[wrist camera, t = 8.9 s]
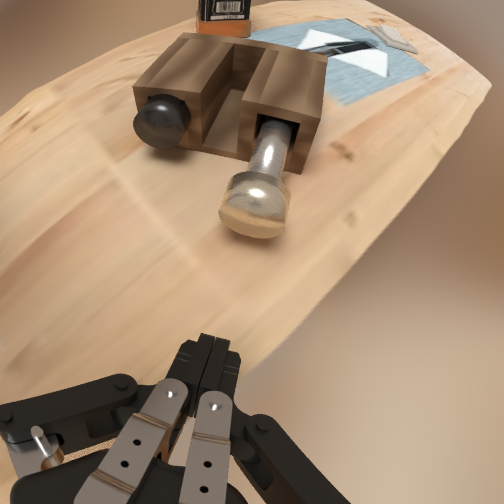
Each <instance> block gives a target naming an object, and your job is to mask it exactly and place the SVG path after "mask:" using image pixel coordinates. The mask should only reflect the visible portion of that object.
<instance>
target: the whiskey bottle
mask: <svg viewBox="0 0 504 504" xmlns="http://www.w3.org/2000/svg"><path fill="white" fill-rule="evenodd" d="M250 3H251V0H199V7H198V11H197V14H196V28H197V33H199V34H211V35H220V36H229V37H236V38H247V37H249V36H250V26H251V21H250V19H249V14H250Z"/></svg>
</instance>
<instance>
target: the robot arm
mask: <svg viewBox="0 0 504 504" xmlns="http://www.w3.org/2000/svg"><path fill="white" fill-rule="evenodd" d="M229 345H230V340H226V339H222V338H219V337H216V340H215V336H211V335H207V334H204V333H201V334H200V337H199V339H198V341H197V342H195V341H192V340H187V341H186V342H184V343H183V344H182V345H181V347H180V349H179V351H178V353H177V355H176V357H175V359H174V361H173V363H172V365H171V367H170V369H169V371H168V373H167V375H166V377H165V379H163V380H161V381H159V382H158V383H157V384H156V385H137V382H136V381H135V379H134V378H132V377H131V376H129V375H126V374H114V375H111V376H108V377H105V378H101V379H98V380H95V381H91V382H88V383H85V384H81V385H78V386H74V387H71V388H67V389H63V390H60V391H56V392H52V393H48V394H45V395H41V396H37V397H33V398H29V399H24V400H20V401H16V402H11V403H7V404H2V405H0V436H1V437H2V439H3V440H4V442H5V443H6V445H7V448H8V451H9V454H10V457H11V460H12V463H13V465H14V468H15V471H16V473H17V476H18V478H19V480H18V481H16V483H15V484H14V485H13V487H12V490H11V494H10V504H248V503H247V501H246V500H245V498H244V497H243V496H242V494H241V493H240V492H239V491H238V490H237V489H236V488H235V487H233V486H232V485H231V484H229V483H227V478H228V467H229V457H230V455H232V456H234V460H235V462H236V463H237V465H238V466H239V467H240V469H241V470H242V472H243V473H244V475H245V476H246V477H247V479H248V480H249V481H250V483H251V484H252V486H253V487H254V488H255V490H256V491H257V492H258V493H259V495H260V496H261V497H262V499H263V500H264V501H265V503H266V504H351V503H350V502H349V501H348V500H347V499H346V498H345V497H344V496H343V495H342V494H341V493H340V492H339V491H338V490H337V489H336V488H335V487H334V486H333V485H332V484H331V483H330V482H329V481H328V480H327V479H326V477H325V476H324V475H323V474H322V473H321V472H320V471H319V470H318V469H317V468H316V467H315V466H314V465H313V463H312V462H311V461H310V460H309V459H308V458H307V457H306V456H305V454H304V453H303V452H302V451H301V450H300V449H299V448H298V447H297V445H296V444H295V443H294V442H293V441H292V440H291V439H290V437H289V436H288V435H287V434H286V432H285V431H284V430H283V429H282V428H281V427H280V425H279V424H278V423H277V422H276V421H275V420H274V419H273V418H272V417H270V416H268V415H263V414H256V415H253V416H249V415H247V414H245V413H243V412H242V411H240V410H239V409H238V408H237V407H236V405H235V403H234V401H233V400H234V399H233V398H234V397H233V396H234V393H235V388H236V383H237V378H238V373H239V368H240V364H241V359H240V356H239V353H237V352H233V351H229V350H228V349H229ZM194 411H195V414H194ZM193 414H194V418H196V420H195V425H194V430H193V434H192V438H191V443H190V448H189V453H188V459H187V463H186V467H183V466H172V465H169V464H168V460H169V458H170V455H171V453H172V451H173V449H174V447H175V445H176V442H177V440H178V438H179V436H180V434H181V431H182V429H183V426H184V424H185V422H186V419H187V416H189V417H193ZM116 437H117V438H116ZM113 438H116V440H115V442H114V443H113V445H112V446H111V448H110V449H103V450H99V451H96V452H93V453H91V454H88V455H86V456H83V457H80V458H78V459H75V460H72V461H69V462H67V463H64V464H62V462H63V460H64V455H67V454H70V453H73V452H76V451H79V450H82V449H85V448H88V447H91V446H94V445H97V444H100V443H103V442H105V441H108V440H111V439H113Z"/></svg>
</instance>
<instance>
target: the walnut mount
mask: <svg viewBox="0 0 504 504" xmlns="http://www.w3.org/2000/svg"><path fill="white" fill-rule="evenodd" d="M327 63H328V57H326V56H323V55H319V54H316V53H312V52H308V51H304V50H300V49H296V48H291V47H287V46H282V45H278V44H273V43H267V42H262V41H256V40H250V39H243V38H236V37H229V36H220V35H211V34H199V33H182V34H181V35H180V36H179V37H178V39H177V40H176V41H175V42H174V43H173V44H172V45H171V46H170V47H168V48H167V49H166V50H165V51H164V52H163V53H162V54H161V56H160V57H159V58H158V59H157V60H156V61H155V62H154V63H153V64H152V65H151V66H150V67H149V68H148V69H147V70H146V71H145V72H144V74H143V75H142V76H141V77H140V78H139V79H138V80H137V81H136V83H135V84H134V85H133V86H132V87H133V92H134V96H135V101H136V105H137V110H138V112H139V111H140V110H141V108H142V107H143V106H144V104H145V103H146V102H147V100H148V99H149V98H150V97H152V96H153V95H156V94H169V95H173V96H175V97H177V98H179V99H180V100H185V104H186V105H187V107H188V108H189V110H190V112H191V122H190V124H189V126H188V128H187V130H186V132H185V133H184V135H183V137H182V139H181V141H180V142H179V144H178V145H177V146H175V147H180V148H185V149H190V150H196V151H201V152H206V153H211V154H216V155H221V156H225V157H230V158H235V159H239V160H244V161H248V162H250V160H251V157H252V154H253V151H254V148H255V145H256V142H257V139H258V136H259V133H260V130H261V127H262V124H263V121H264V118H265V115H269V116H273V117H277V118H281V119H285V120H289V121H293V122H294V124H293V129H292V133H291V138H290V142H289V147H288V151H287V155H286V160H285V164H284V169H283V170H285V171H289V172H292V173H296V174H300V175H301V172H302V170H303V167H304V164H305V161H306V158H307V156H308V153H309V150H310V147H311V145H312V142H313V139H314V136H315V133H316V131H317V128H318V125H319V122H320V119H321V112H322V103H323V94H324V85H325V75H326V66H327Z"/></svg>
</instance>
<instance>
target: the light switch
mask: <svg viewBox="0 0 504 504" xmlns="http://www.w3.org/2000/svg"><path fill="white" fill-rule="evenodd" d="M366 27H368V28H369V29H370V30H371V31H372V32H373V33H374V34H375V35H376V36H377V37H378V38H379V39H380V40H381V41H382V42H384V43H385V44H386V45H387V46H390V47H394V48H398V49H402V50H405V51H409V52H412V53H415V54H418V51H417V49H415V48H414V47H413V46H412V45H411V44H409V43H408V42H407V41H406V40H405V39H403V38H402V37H401V35H400V34H399V32H398V30H397V29H395V28H394V27H390V26H387V25H381V26H380V27H373V26H368V25H367V26H366Z"/></svg>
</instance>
